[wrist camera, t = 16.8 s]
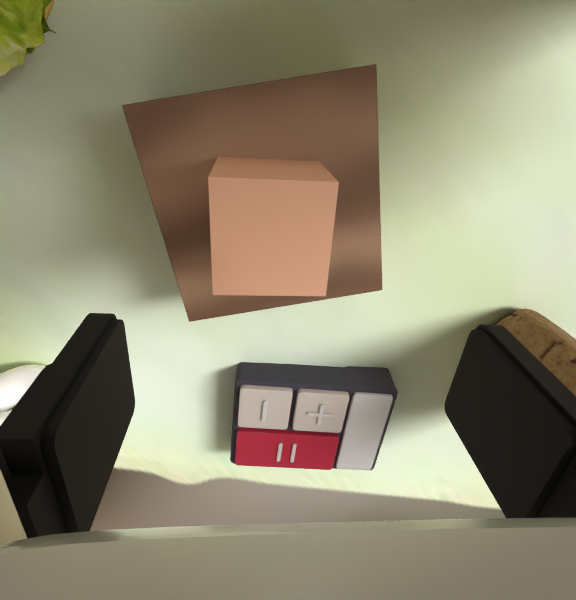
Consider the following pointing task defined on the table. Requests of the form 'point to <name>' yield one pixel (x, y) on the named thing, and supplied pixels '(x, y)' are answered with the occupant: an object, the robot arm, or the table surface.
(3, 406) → the white knot
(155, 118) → the walnut block
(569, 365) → the brown rock
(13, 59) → the food
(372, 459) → the calculator
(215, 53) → the table surface
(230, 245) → the terracotta cube
